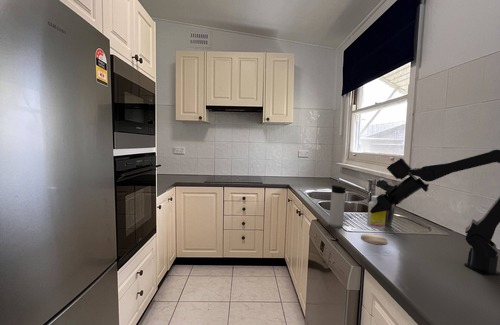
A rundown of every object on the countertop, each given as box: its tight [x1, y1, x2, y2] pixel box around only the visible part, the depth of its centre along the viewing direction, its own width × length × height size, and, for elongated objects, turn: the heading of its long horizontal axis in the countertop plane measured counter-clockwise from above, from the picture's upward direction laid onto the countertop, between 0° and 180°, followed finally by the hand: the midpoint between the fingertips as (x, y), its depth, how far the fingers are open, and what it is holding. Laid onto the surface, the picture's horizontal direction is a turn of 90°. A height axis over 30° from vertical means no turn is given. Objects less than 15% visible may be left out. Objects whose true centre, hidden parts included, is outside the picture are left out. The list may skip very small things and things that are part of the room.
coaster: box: [360, 233, 389, 246], centre depth 104 cm, size 10×10×1 cm
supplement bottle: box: [366, 195, 386, 230], centre depth 103 cm, size 7×7×13 cm
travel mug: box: [328, 184, 346, 229], centre depth 119 cm, size 6×7×20 cm
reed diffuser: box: [385, 205, 397, 228], centre depth 123 cm, size 7×7×20 cm
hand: (373, 210), depth 104 cm, fingers closed on supplement bottle, 7 cm apart
